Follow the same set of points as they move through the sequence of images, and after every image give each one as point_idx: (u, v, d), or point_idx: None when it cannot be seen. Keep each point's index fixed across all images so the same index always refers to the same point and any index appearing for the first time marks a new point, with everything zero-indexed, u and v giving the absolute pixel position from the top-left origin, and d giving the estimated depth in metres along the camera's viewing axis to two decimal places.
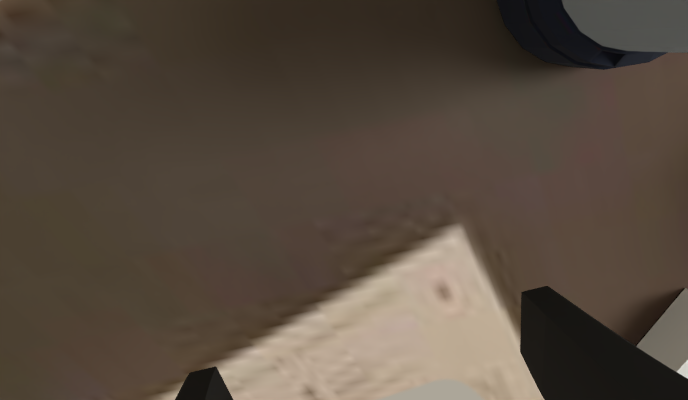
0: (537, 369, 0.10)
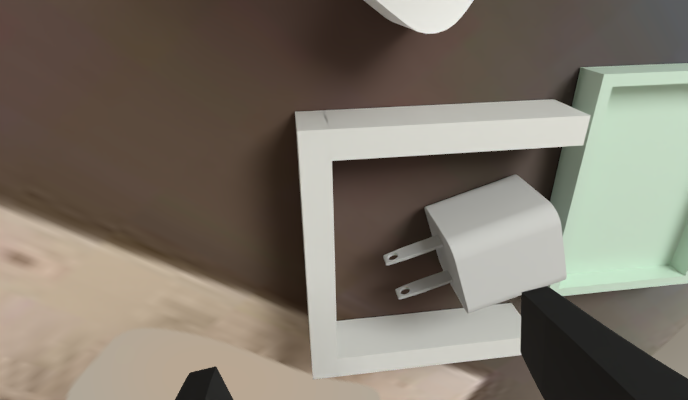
0: (537, 370, 0.10)
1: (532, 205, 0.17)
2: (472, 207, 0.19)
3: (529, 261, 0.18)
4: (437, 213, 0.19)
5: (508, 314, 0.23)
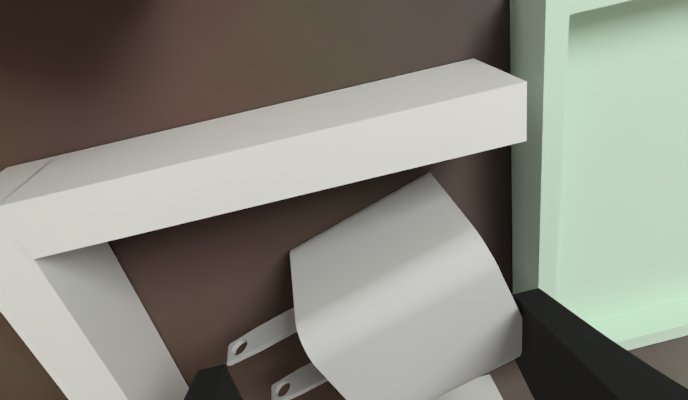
0: (529, 371, 0.10)
1: (443, 237, 0.09)
2: (351, 249, 0.11)
3: (456, 337, 0.09)
4: (300, 264, 0.11)
5: (484, 397, 0.15)
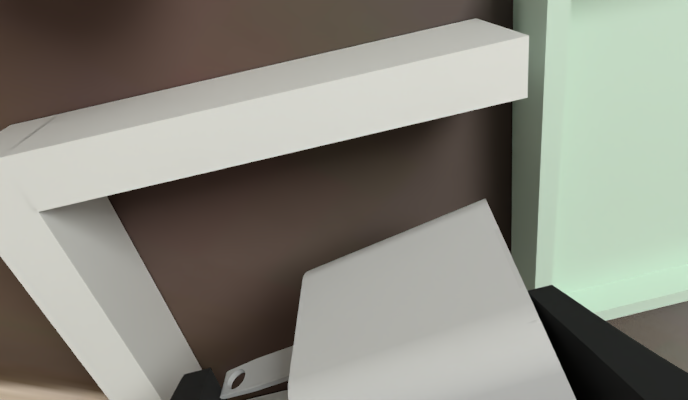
0: None
1: (489, 309, 0.07)
2: (370, 293, 0.08)
3: None
4: (310, 297, 0.09)
5: None
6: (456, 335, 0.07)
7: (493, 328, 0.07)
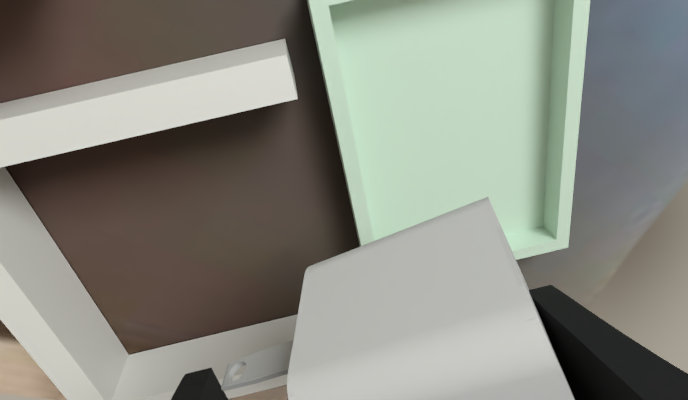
0: None
1: (487, 306, 0.07)
2: (371, 289, 0.08)
3: None
4: (312, 292, 0.09)
5: None
6: (454, 331, 0.07)
7: (491, 325, 0.07)
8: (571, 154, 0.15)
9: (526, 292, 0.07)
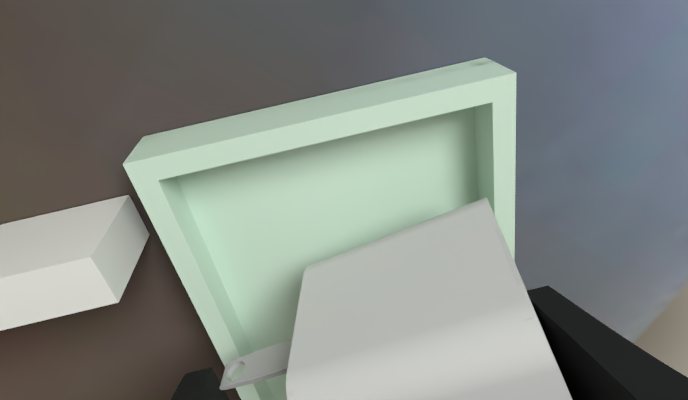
0: None
1: (486, 306, 0.07)
2: (369, 288, 0.08)
3: None
4: (311, 291, 0.09)
5: None
6: (453, 330, 0.07)
7: (490, 324, 0.07)
8: None
9: (525, 292, 0.07)
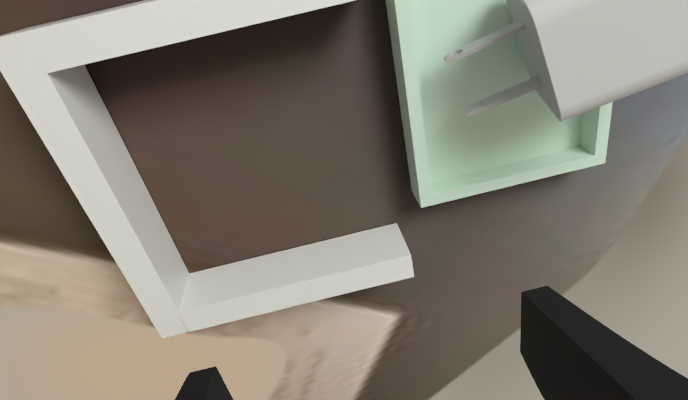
0: (537, 369, 0.10)
1: None
2: None
3: (658, 21, 0.12)
4: None
5: (388, 235, 0.20)
6: None
7: None
8: None
9: None
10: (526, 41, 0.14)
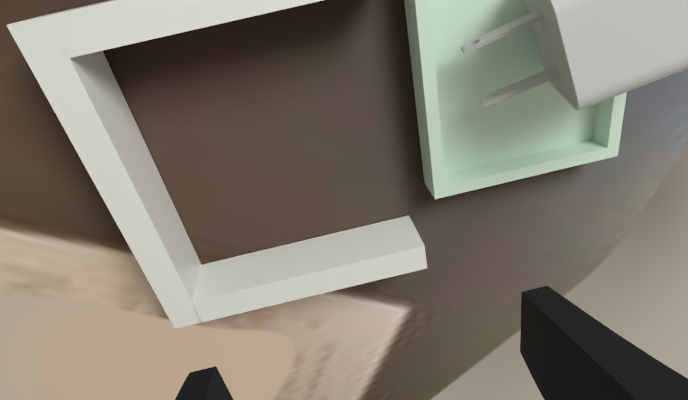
0: (537, 370, 0.10)
1: None
2: None
3: (677, 9, 0.12)
4: None
5: (401, 227, 0.20)
6: None
7: None
8: None
9: None
10: (543, 31, 0.15)
